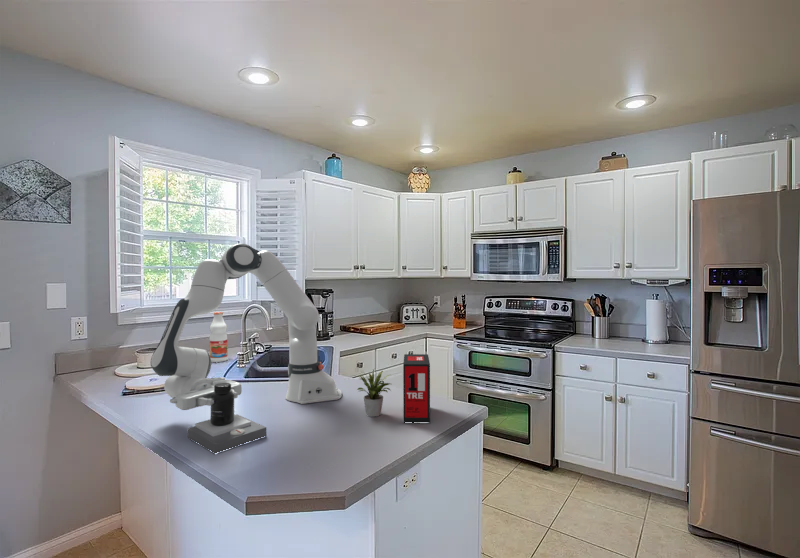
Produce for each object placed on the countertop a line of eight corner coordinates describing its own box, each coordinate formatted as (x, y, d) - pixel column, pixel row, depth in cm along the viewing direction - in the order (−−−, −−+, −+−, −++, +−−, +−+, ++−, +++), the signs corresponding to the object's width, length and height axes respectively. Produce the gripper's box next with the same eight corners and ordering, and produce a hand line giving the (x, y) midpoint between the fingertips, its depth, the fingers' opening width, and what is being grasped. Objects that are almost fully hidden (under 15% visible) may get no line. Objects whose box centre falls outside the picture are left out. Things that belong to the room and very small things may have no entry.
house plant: (357, 424, 136) (357, 376, 136) (345, 411, 149) (345, 367, 149) (396, 418, 142) (396, 371, 142) (382, 406, 155) (382, 363, 154)
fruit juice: (225, 358, 243) (225, 311, 242) (229, 361, 235) (228, 312, 235) (208, 360, 237) (207, 312, 237) (211, 363, 230) (211, 313, 229)
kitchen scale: (237, 423, 138) (237, 411, 138) (266, 436, 127) (266, 424, 127) (187, 437, 126) (187, 424, 126) (215, 454, 114) (215, 440, 114)
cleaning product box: (430, 423, 137) (429, 364, 137) (403, 423, 138) (403, 364, 137) (428, 407, 154) (428, 354, 154) (404, 407, 154) (404, 354, 154)
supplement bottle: (211, 428, 123) (211, 388, 123) (209, 420, 129) (209, 383, 129) (235, 424, 127) (235, 385, 126) (232, 417, 133) (232, 380, 132)
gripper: (166, 390, 126) (191, 397, 119) (226, 375, 143) (251, 381, 136) (167, 410, 126) (191, 419, 119) (226, 393, 143) (252, 400, 136)
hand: (224, 399), depth 127 cm, fingers closed on supplement bottle, 7 cm apart
